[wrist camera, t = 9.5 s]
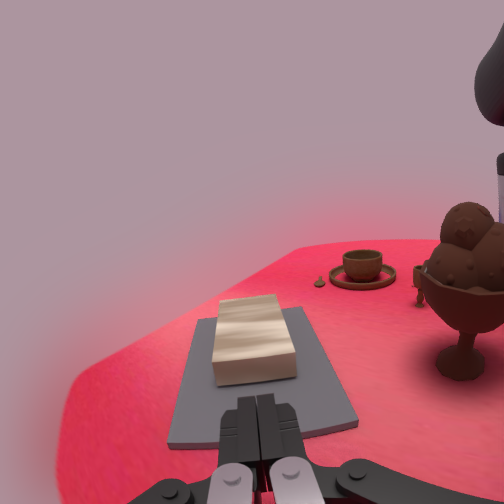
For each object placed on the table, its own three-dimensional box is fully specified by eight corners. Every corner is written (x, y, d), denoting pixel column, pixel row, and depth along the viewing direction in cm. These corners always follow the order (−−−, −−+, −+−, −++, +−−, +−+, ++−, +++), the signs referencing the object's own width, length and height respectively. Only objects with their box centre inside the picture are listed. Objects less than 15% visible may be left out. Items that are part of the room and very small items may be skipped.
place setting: (403, 268, 52) (404, 238, 51) (434, 312, 33) (438, 270, 32) (316, 273, 57) (314, 243, 55) (308, 320, 38) (305, 278, 37)
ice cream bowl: (397, 390, 21) (411, 209, 17) (423, 330, 29) (429, 196, 25) (506, 407, 14) (552, 216, 10) (504, 340, 22) (522, 200, 18)
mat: (199, 324, 39) (198, 319, 39) (301, 311, 39) (301, 306, 39) (169, 448, 18) (166, 442, 17) (357, 426, 18) (358, 419, 18)
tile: (217, 388, 24) (223, 321, 38) (297, 378, 24) (277, 314, 38) (211, 362, 23) (219, 300, 37) (295, 352, 23) (275, 293, 37)
